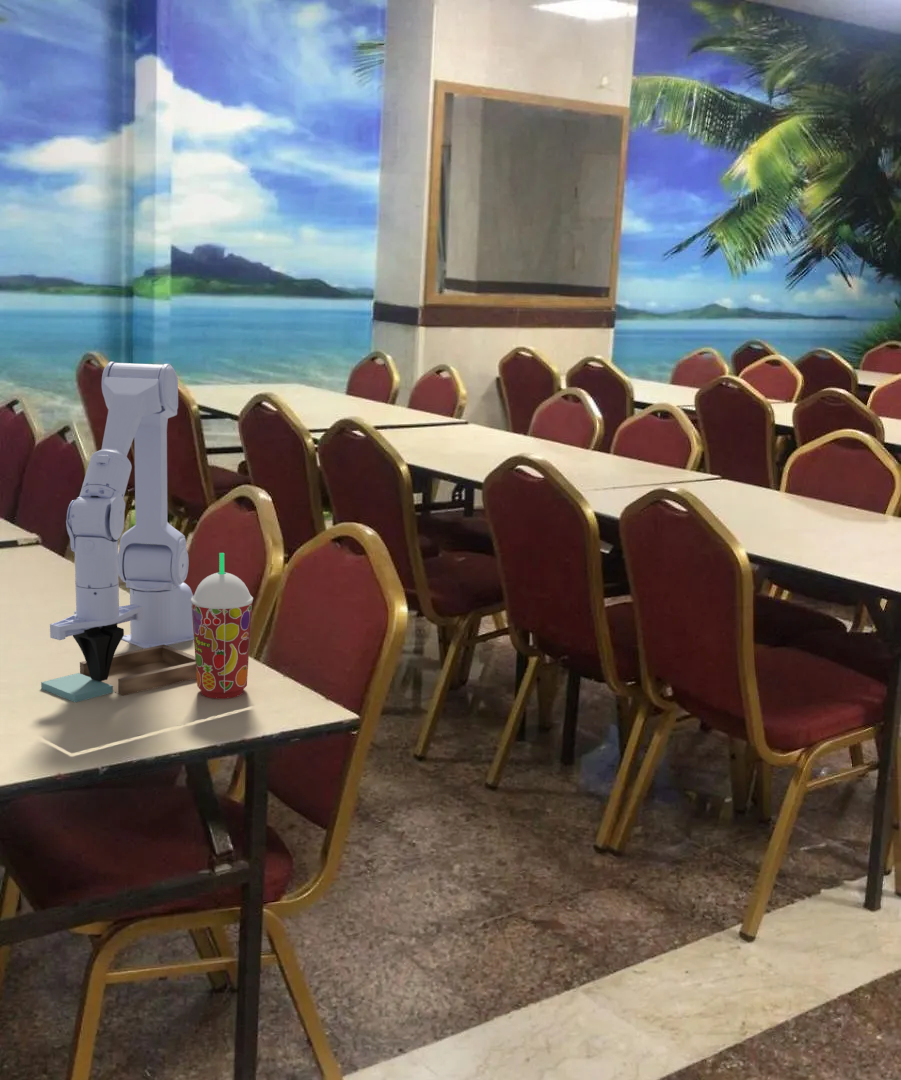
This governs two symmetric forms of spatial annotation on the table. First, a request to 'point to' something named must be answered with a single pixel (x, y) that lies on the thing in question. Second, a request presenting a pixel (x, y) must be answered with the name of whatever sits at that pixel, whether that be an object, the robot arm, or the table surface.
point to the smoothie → (221, 634)
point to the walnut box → (147, 669)
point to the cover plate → (76, 687)
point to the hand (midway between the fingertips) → (99, 679)
